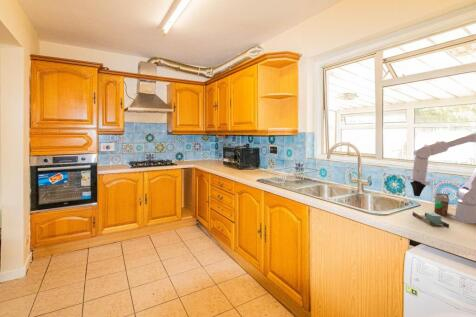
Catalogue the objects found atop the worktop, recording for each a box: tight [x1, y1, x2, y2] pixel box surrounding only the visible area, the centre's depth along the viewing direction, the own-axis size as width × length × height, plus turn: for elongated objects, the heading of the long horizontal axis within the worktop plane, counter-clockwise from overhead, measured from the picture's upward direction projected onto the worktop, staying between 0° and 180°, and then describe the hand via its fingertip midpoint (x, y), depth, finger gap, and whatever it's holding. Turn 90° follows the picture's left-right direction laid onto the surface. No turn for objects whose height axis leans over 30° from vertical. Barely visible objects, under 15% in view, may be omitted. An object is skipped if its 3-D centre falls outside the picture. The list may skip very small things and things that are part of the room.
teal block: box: [425, 212, 443, 225], centre depth 115 cm, size 4×4×4 cm
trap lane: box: [411, 211, 450, 229], centre depth 118 cm, size 6×16×2 cm, turn 175°
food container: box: [433, 192, 450, 217], centre depth 130 cm, size 12×6×10 cm, turn 141°
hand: (416, 196), depth 128 cm, fingers closed
